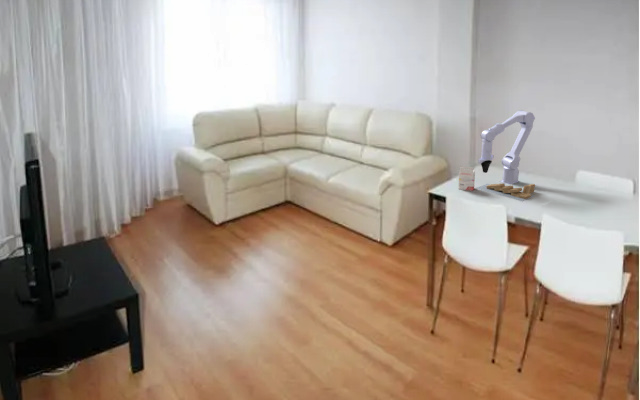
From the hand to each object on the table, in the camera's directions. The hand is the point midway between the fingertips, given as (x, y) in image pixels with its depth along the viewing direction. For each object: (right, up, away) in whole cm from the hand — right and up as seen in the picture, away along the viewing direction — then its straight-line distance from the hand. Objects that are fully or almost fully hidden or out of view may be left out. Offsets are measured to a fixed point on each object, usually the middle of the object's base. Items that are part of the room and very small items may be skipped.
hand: (485, 172), depth 289 cm
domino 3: (+8, -11, -12) cm, 18 cm away
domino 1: (+1, -9, -3) cm, 9 cm away
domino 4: (+11, -13, -16) cm, 23 cm away
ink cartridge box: (-12, -11, -2) cm, 16 cm away
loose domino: (+16, -11, -19) cm, 27 cm away
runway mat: (+7, -13, -11) cm, 18 cm away
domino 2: (+5, -10, -7) cm, 13 cm away
